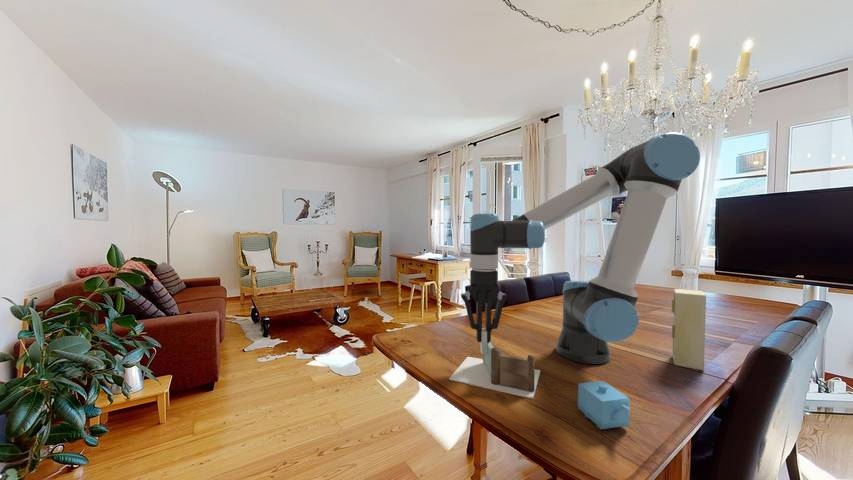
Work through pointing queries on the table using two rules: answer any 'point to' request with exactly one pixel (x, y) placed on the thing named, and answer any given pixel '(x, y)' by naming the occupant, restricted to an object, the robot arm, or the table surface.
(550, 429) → the table surface
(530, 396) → the card
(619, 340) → the robot arm
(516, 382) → the fixed fence
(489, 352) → the swing panel
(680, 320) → the toy refrigerator
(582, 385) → the teapot
